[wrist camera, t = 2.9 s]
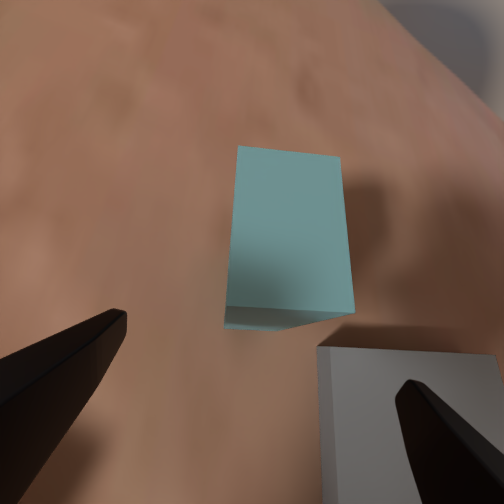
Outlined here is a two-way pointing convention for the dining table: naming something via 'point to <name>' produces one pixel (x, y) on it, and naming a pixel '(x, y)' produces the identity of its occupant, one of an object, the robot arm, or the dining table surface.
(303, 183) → the teal block
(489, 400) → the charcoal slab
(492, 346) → the dining table surface
